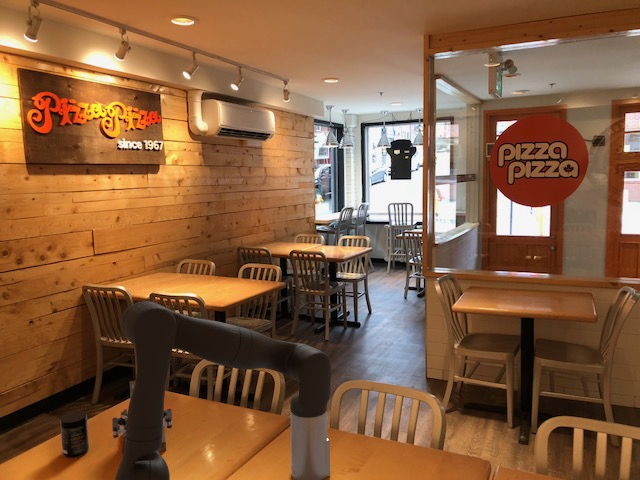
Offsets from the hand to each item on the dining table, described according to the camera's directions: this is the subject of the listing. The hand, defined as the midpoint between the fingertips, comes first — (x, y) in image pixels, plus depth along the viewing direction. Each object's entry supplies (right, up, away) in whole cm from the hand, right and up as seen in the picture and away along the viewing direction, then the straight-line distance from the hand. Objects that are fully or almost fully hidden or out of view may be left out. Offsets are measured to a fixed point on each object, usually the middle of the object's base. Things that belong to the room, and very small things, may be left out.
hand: (142, 409), depth 137 cm
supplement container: (-21, -14, +8) cm, 27 cm away
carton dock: (-4, -13, +13) cm, 19 cm away
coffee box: (-4, -13, +13) cm, 18 cm away
